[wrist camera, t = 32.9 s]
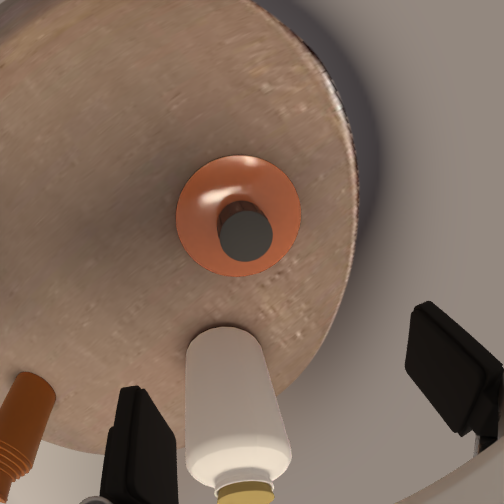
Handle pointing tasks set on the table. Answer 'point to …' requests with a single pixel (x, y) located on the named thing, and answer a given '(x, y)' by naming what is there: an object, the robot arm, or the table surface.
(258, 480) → the potion bottle
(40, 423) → the sauce bottle
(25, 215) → the table surface
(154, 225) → the table surface
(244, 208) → the cap
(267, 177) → the orange round coaster
